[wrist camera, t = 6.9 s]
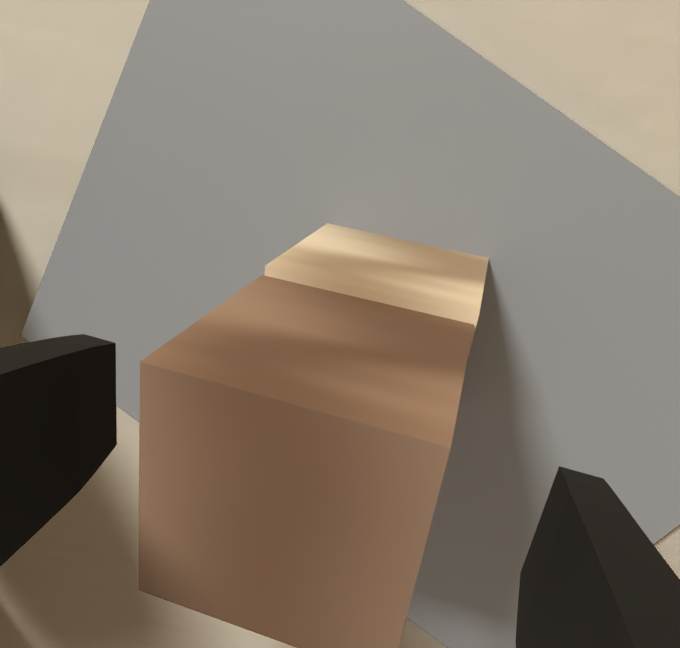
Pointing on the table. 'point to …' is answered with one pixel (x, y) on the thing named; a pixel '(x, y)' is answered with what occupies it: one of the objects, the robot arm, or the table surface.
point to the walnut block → (297, 461)
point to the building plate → (403, 223)
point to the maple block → (387, 271)
